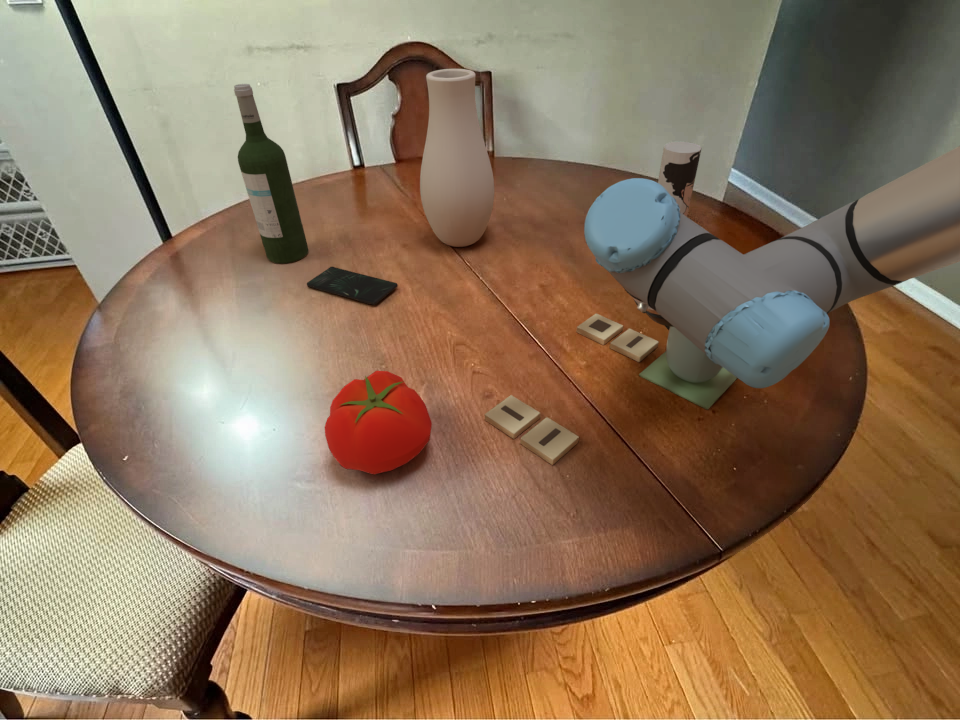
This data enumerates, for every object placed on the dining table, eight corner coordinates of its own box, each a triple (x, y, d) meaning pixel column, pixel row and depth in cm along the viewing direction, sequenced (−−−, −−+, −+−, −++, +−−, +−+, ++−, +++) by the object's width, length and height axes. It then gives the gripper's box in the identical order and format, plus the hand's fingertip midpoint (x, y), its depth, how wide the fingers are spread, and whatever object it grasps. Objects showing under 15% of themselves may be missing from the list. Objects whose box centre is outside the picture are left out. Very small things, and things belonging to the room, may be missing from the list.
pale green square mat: (742, 372, 76) (745, 366, 75) (707, 410, 70) (709, 403, 70) (604, 311, 88) (605, 305, 88) (565, 339, 83) (566, 333, 82)
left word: (578, 442, 67) (579, 435, 66) (552, 465, 64) (553, 459, 63) (511, 400, 73) (511, 393, 72) (484, 419, 70) (484, 413, 69)
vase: (418, 255, 105) (398, 82, 87) (434, 224, 116) (420, 64, 97) (489, 259, 103) (485, 83, 85) (499, 227, 114) (497, 64, 95)
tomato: (414, 499, 61) (405, 445, 56) (313, 477, 64) (295, 424, 58) (450, 419, 70) (445, 367, 65) (361, 403, 73) (349, 352, 68)
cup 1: (683, 231, 110) (699, 154, 100) (648, 226, 112) (661, 151, 103) (687, 217, 115) (703, 143, 105) (654, 213, 117) (666, 140, 107)
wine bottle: (314, 245, 110) (275, 79, 91) (300, 264, 104) (255, 91, 85) (276, 244, 111) (229, 80, 92) (260, 264, 105) (206, 91, 86)
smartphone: (331, 265, 101) (398, 282, 95) (332, 270, 102) (399, 287, 96) (305, 283, 97) (373, 302, 91) (306, 288, 97) (374, 307, 91)
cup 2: (733, 376, 75) (754, 314, 68) (695, 399, 71) (713, 336, 65) (686, 348, 80) (702, 288, 74) (649, 368, 76) (661, 307, 70)
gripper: (569, 280, 62) (629, 334, 81) (750, 356, 51) (771, 399, 70) (602, 220, 62) (654, 289, 81) (792, 284, 50) (802, 346, 69)
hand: (708, 340), depth 75 cm, fingers closed on cup 2, 8 cm apart
